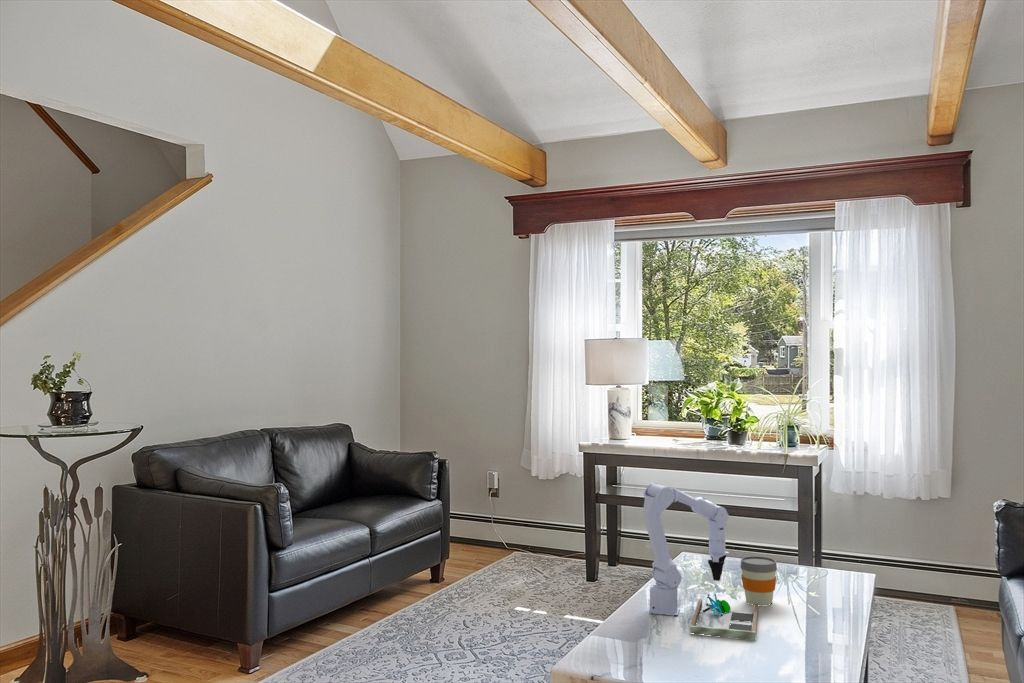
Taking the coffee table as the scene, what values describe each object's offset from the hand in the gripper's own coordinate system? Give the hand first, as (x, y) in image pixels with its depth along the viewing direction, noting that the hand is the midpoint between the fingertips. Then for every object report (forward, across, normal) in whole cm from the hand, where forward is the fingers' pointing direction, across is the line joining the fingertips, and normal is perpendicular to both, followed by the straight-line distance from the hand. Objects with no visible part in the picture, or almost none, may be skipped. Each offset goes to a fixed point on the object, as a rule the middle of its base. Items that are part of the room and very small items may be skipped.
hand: (717, 577), depth 295 cm
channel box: (+9, -19, -4) cm, 21 cm away
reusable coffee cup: (+10, +6, -14) cm, 18 cm away
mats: (+9, -19, -9) cm, 23 cm away
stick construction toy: (+10, -10, 0) cm, 14 cm away
